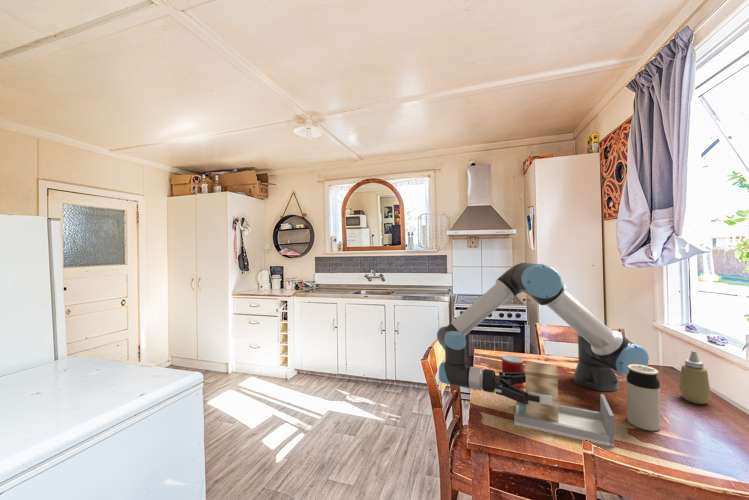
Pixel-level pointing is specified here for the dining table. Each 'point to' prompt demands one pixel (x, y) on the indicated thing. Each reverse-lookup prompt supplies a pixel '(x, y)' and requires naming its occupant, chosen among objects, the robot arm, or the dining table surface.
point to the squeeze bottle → (694, 381)
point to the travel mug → (643, 397)
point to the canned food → (512, 366)
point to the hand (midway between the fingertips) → (551, 391)
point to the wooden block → (542, 390)
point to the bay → (574, 423)
